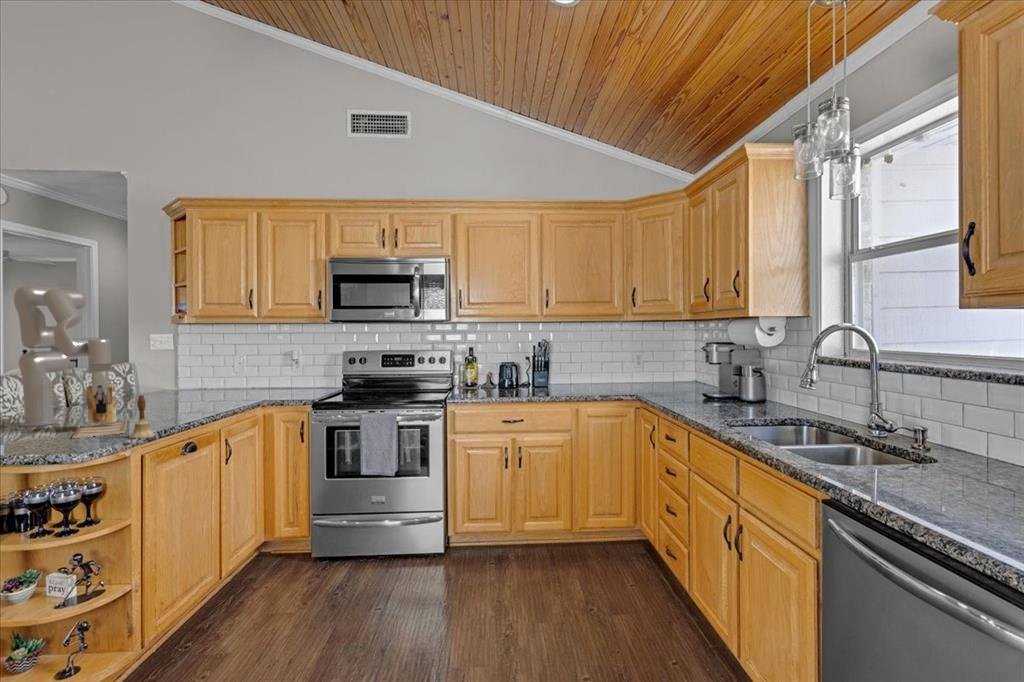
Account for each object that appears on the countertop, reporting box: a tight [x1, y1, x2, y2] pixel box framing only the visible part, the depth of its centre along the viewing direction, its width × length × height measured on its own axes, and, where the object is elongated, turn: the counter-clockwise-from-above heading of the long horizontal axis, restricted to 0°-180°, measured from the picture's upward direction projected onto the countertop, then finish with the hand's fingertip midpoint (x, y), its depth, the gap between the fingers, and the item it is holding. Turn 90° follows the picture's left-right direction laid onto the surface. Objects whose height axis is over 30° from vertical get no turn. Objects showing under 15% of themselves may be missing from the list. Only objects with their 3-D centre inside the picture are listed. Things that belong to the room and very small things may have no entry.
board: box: [72, 421, 128, 439], centre depth 219 cm, size 22×16×2 cm
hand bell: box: [129, 394, 156, 439], centre depth 208 cm, size 8×8×16 cm
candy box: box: [85, 384, 118, 425], centre depth 224 cm, size 9×4×15 cm, turn 111°
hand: (102, 411), depth 224 cm, fingers closed on candy box, 4 cm apart
